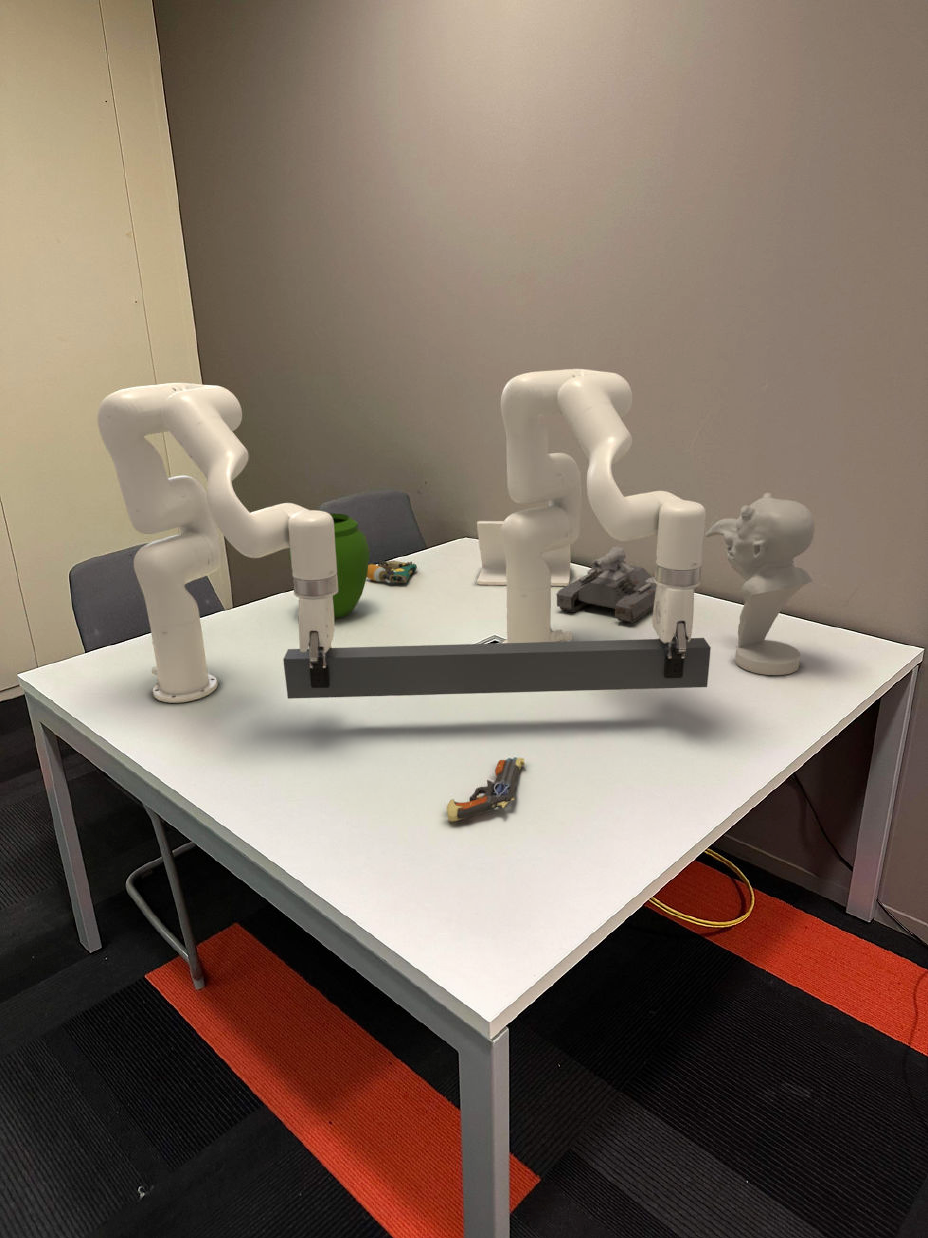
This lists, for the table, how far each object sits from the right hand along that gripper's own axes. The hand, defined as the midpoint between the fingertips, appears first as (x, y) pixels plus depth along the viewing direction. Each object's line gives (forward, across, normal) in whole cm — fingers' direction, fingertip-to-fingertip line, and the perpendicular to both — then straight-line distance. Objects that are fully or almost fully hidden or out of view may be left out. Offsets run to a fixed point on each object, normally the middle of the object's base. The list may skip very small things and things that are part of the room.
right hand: (669, 670), depth 152 cm
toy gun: (+10, +23, -33) cm, 42 cm away
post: (+3, 0, -31) cm, 31 cm away
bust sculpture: (+11, -26, +24) cm, 37 cm away
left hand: (+1, 0, -62) cm, 62 cm away
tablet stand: (+12, -89, -19) cm, 92 cm away
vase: (+12, -62, -69) cm, 93 cm away
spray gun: (+13, -91, -56) cm, 108 cm away
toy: (+12, -62, +2) cm, 64 cm away
